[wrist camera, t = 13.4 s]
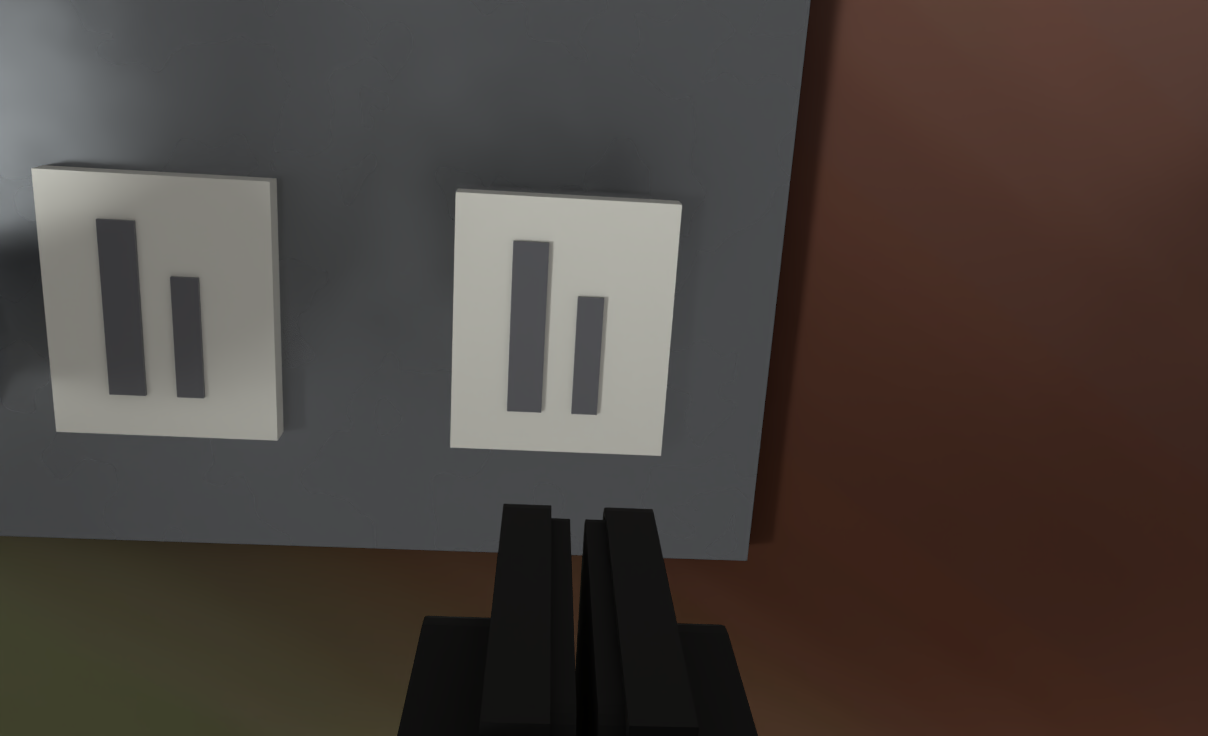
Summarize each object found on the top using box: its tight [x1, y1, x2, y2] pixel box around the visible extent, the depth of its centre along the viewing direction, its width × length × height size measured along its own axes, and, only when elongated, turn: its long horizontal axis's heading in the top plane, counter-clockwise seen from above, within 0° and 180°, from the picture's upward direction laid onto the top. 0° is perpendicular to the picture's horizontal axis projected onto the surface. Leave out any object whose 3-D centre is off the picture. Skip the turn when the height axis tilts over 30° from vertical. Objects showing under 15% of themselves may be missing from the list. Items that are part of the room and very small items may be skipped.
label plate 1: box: [31, 165, 284, 441], centre depth 24 cm, size 6×5×1 cm
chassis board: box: [0, 0, 811, 561], centre depth 23 cm, size 20×24×1 cm
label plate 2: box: [450, 188, 682, 456], centre depth 24 cm, size 6×5×1 cm
